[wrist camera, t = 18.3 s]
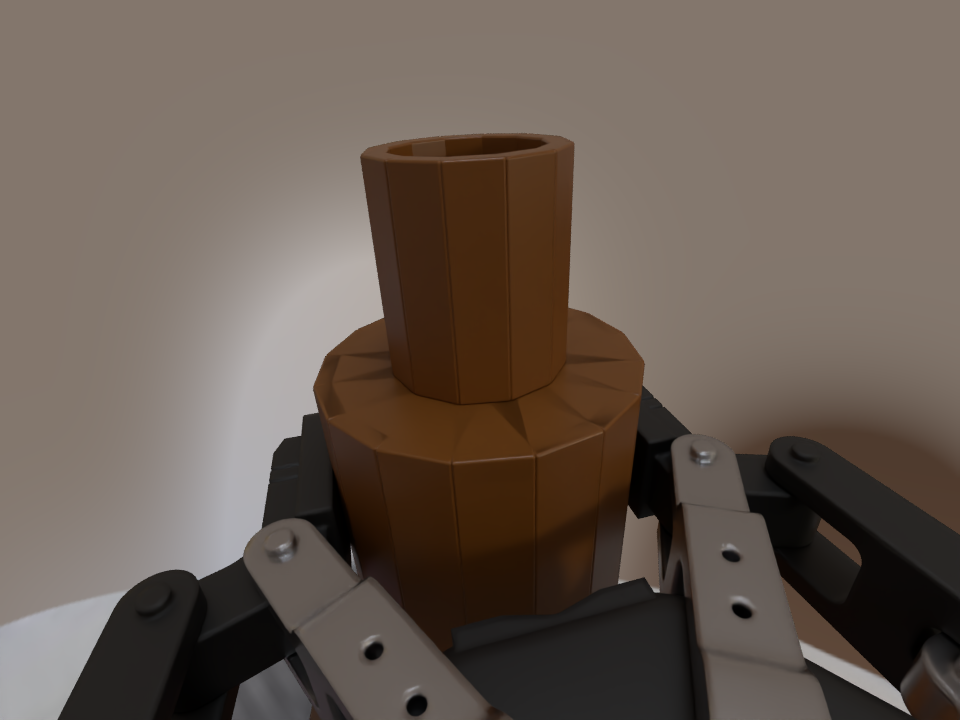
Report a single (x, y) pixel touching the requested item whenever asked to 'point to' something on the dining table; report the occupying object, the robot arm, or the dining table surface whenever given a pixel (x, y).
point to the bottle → (480, 390)
